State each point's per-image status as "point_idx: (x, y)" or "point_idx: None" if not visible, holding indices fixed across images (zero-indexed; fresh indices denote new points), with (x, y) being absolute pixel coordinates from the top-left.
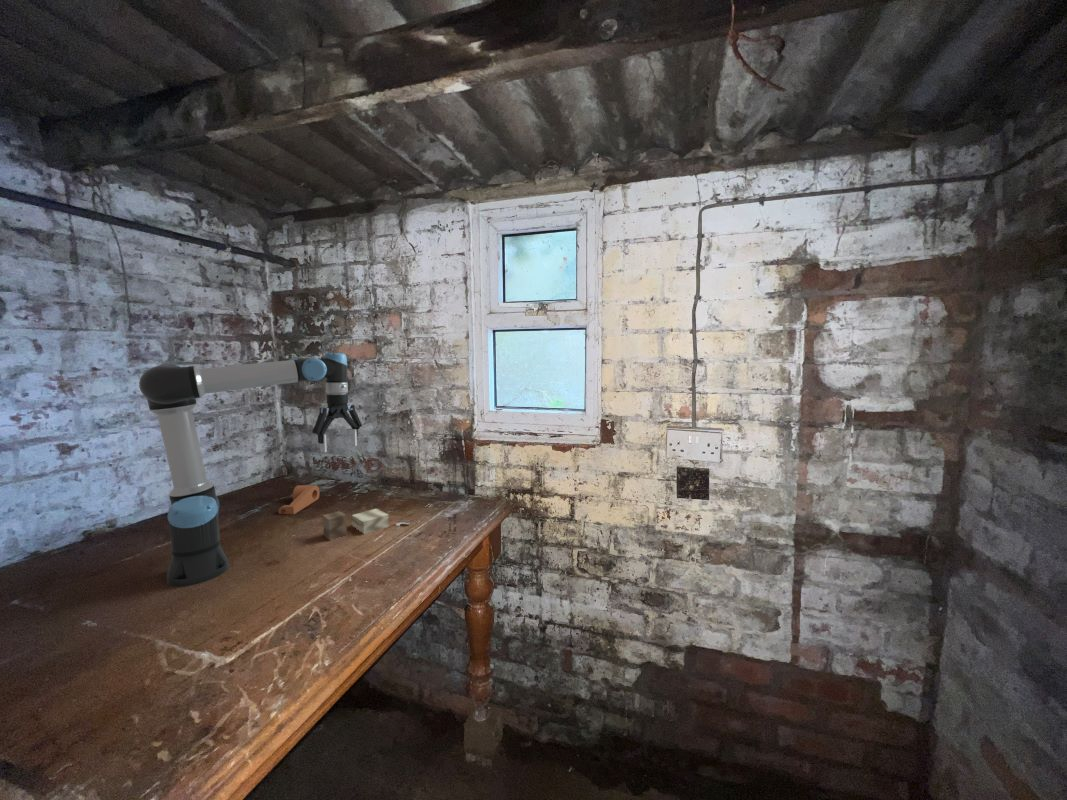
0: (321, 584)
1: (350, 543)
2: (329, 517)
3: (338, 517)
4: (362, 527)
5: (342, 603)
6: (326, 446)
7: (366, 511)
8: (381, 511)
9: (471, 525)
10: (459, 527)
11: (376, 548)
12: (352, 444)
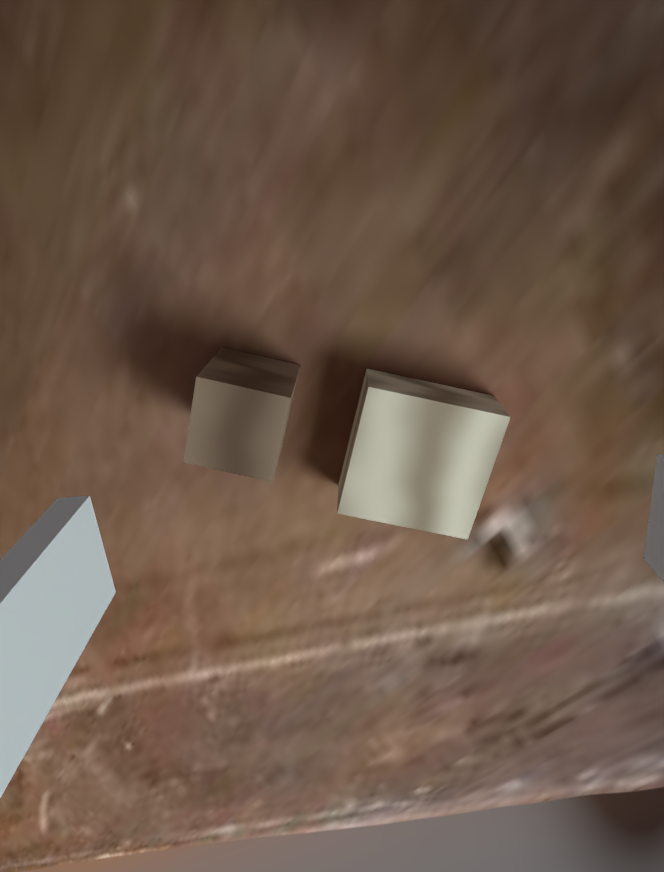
0: None
1: (247, 513)
2: (200, 440)
3: (234, 472)
4: (340, 487)
5: (31, 773)
6: (80, 651)
7: (447, 408)
8: (486, 476)
9: (611, 751)
10: (575, 730)
11: (278, 623)
12: (661, 506)
